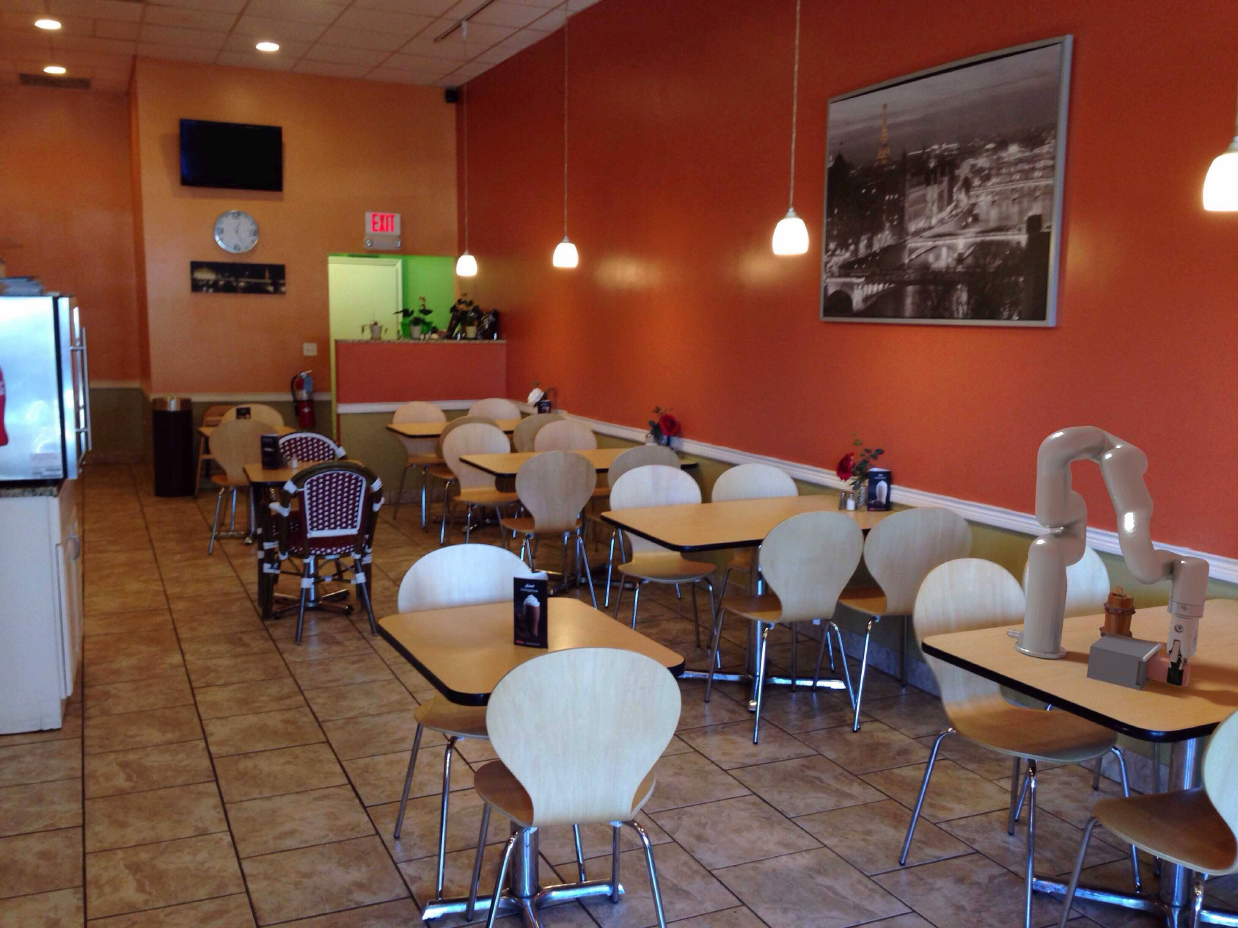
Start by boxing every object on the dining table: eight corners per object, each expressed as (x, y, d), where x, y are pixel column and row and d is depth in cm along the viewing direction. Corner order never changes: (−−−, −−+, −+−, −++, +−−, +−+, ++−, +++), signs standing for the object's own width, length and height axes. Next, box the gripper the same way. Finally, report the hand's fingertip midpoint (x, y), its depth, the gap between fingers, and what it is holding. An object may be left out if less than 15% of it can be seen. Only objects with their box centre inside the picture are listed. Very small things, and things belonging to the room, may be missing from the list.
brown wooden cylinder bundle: (1133, 652, 276) (1140, 598, 274) (1099, 648, 279) (1106, 593, 277) (1127, 637, 290) (1133, 585, 288) (1095, 633, 293) (1101, 581, 290)
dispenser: (1086, 676, 255) (1090, 644, 254) (1104, 662, 267) (1108, 631, 266) (1142, 690, 247) (1146, 657, 246) (1158, 674, 259) (1162, 643, 258)
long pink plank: (1105, 667, 258) (1107, 648, 258) (1108, 664, 261) (1111, 645, 260) (1185, 686, 247) (1188, 666, 246) (1188, 683, 249) (1191, 663, 249)
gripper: (1195, 618, 238) (1185, 695, 241) (1210, 605, 251) (1200, 678, 254) (1160, 611, 243) (1150, 686, 246) (1176, 598, 256) (1166, 670, 258)
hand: (1175, 681), depth 250 cm, fingers closed on long pink plank, 3 cm apart
